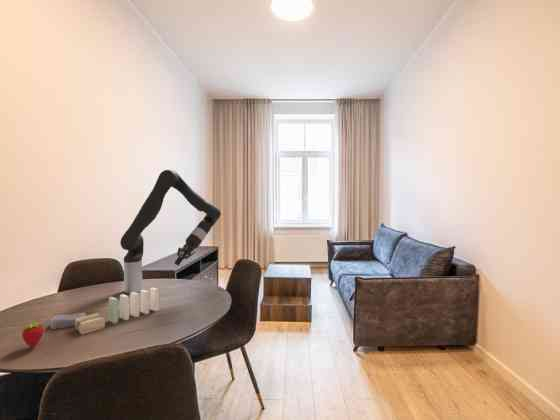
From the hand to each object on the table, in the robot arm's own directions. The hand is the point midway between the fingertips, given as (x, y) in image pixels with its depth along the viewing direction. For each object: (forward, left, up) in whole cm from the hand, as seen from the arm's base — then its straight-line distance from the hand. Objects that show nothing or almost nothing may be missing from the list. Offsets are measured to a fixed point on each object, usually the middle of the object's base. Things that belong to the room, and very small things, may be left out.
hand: (176, 264), depth 151 cm
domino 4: (+2, -17, -19) cm, 26 cm away
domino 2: (+2, -26, -19) cm, 33 cm away
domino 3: (+2, -22, -19) cm, 29 cm away
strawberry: (+5, -58, -19) cm, 61 cm away
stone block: (-11, -43, -20) cm, 49 cm away
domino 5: (+2, -13, -19) cm, 23 cm away
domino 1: (+2, -31, -19) cm, 36 cm away
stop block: (+2, -39, -19) cm, 44 cm away
